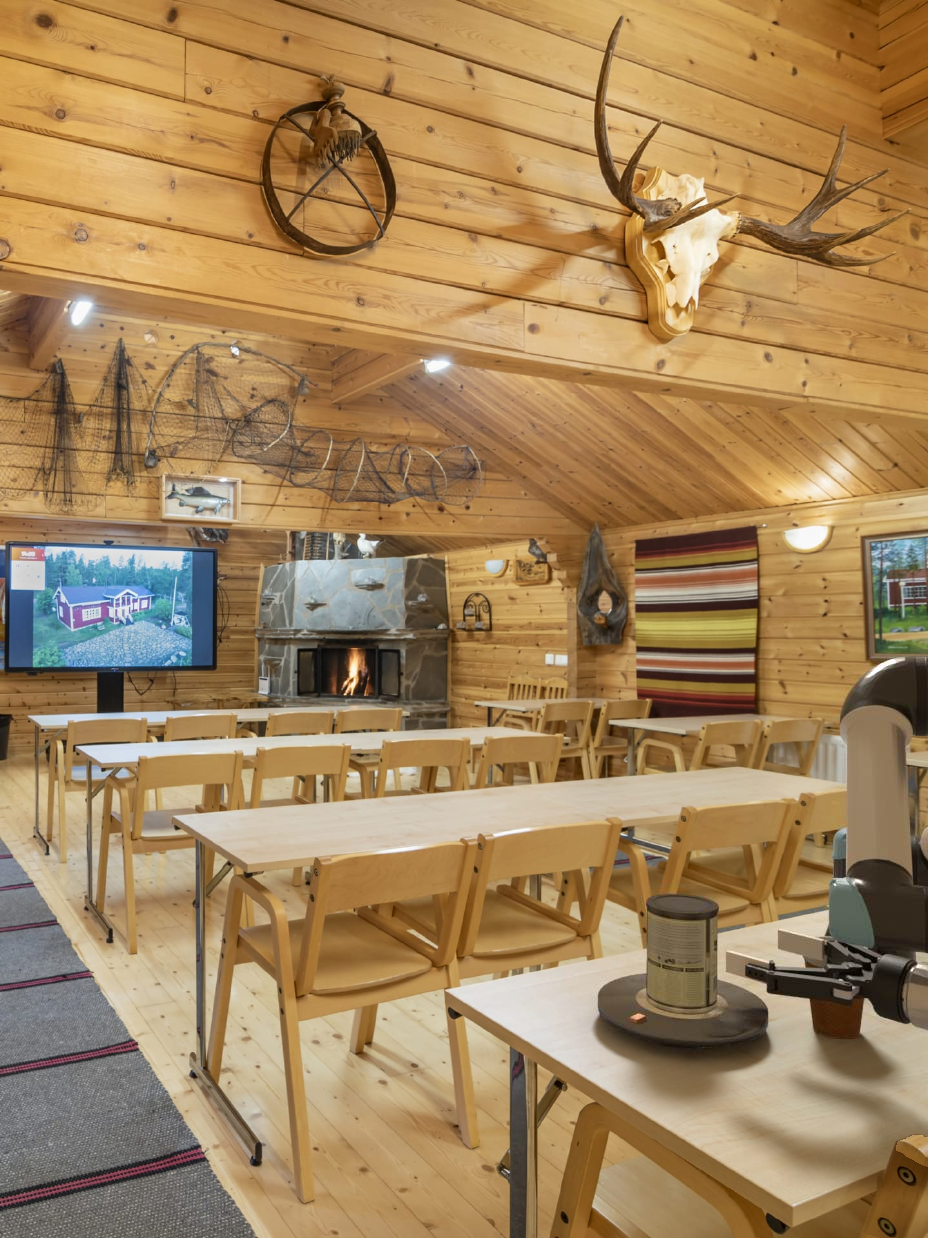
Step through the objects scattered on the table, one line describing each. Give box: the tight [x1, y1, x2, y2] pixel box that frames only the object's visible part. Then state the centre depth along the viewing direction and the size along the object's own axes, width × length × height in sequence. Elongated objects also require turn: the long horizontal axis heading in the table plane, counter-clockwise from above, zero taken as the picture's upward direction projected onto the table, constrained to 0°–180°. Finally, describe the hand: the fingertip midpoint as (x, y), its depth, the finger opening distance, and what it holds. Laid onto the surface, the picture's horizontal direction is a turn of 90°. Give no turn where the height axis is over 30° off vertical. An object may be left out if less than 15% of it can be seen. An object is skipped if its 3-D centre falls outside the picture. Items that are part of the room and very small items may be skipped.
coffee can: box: [645, 893, 720, 1014], centre depth 136 cm, size 10×10×14 cm
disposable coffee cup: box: [802, 935, 868, 1039], centre depth 135 cm, size 10×10×12 cm
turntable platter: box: [597, 972, 769, 1049], centre depth 136 cm, size 24×24×2 cm
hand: (753, 949), depth 128 cm, fingers open, 13 cm apart
